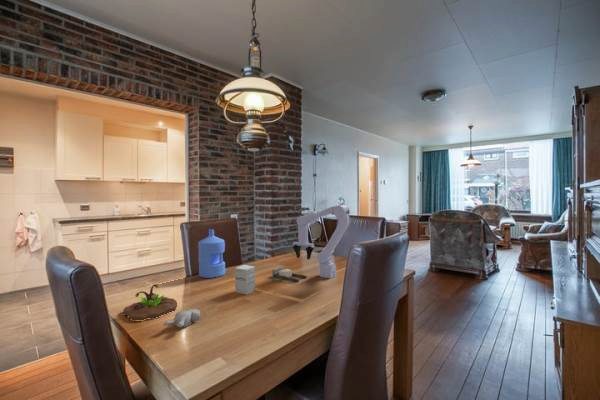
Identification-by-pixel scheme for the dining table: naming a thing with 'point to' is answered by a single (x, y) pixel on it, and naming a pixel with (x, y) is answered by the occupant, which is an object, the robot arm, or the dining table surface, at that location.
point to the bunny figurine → (184, 318)
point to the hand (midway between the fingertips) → (303, 258)
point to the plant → (150, 306)
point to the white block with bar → (285, 272)
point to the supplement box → (245, 279)
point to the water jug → (211, 256)
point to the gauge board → (293, 279)
